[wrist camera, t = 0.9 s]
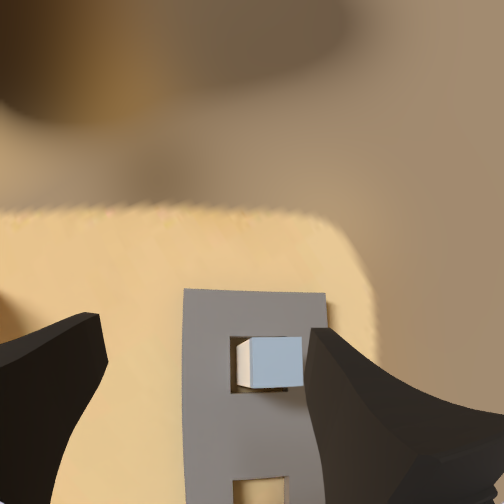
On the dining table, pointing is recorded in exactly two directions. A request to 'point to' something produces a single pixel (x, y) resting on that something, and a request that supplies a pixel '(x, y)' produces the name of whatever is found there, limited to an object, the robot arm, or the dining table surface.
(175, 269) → the dining table surface
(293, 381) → the plug
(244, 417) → the socket board
